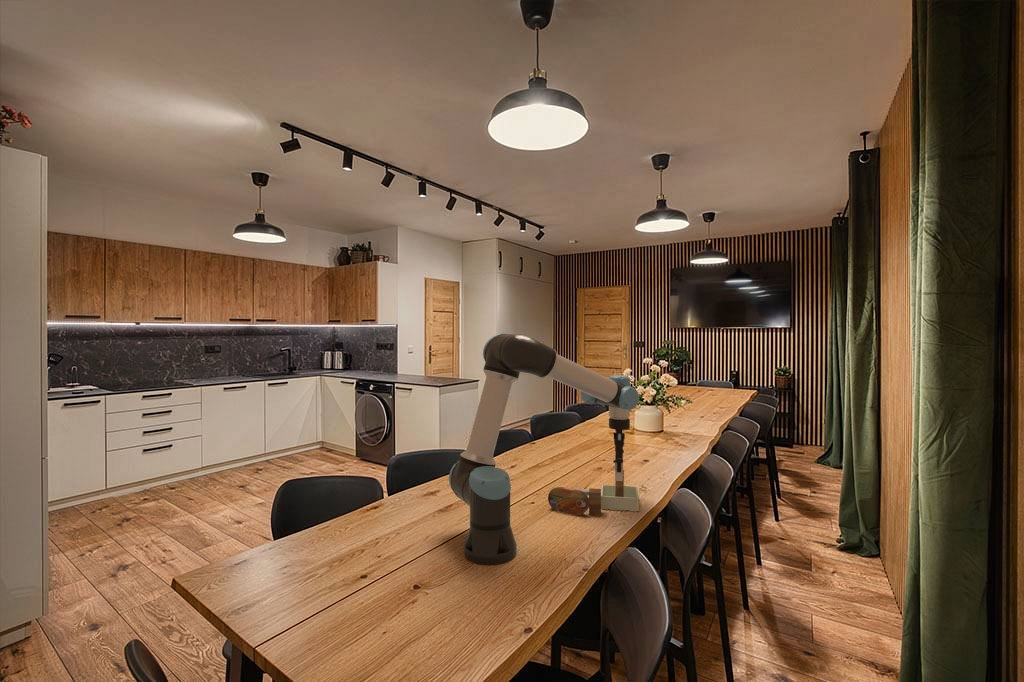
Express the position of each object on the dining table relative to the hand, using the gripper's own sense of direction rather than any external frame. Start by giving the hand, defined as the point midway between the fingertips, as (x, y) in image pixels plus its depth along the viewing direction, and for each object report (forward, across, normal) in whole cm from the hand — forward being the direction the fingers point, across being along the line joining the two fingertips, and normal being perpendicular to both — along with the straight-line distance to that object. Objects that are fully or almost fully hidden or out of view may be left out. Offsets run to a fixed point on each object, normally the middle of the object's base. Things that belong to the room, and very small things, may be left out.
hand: (618, 475), depth 175 cm
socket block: (+11, 0, +12) cm, 16 cm away
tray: (+10, 0, 0) cm, 11 cm away
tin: (+11, -11, +17) cm, 23 cm away
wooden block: (+11, -11, +8) cm, 17 cm away
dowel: (+10, 0, 0) cm, 10 cm away
